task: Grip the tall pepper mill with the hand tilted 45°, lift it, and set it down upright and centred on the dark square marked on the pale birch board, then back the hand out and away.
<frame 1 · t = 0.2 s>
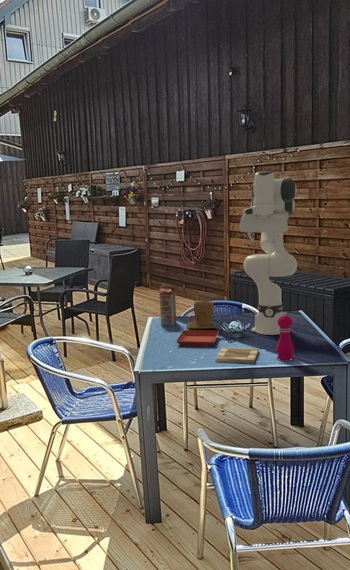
hand: (263, 242, 218), 48 cm above the table, tool pointing down, fingers open, 8 cm apart
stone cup: (201, 328, 268), on the table
birch board: (237, 356, 219), on the table
pepper mill: (285, 359, 214), on the table
plant saucer: (198, 342, 244), on the table
juice carton: (168, 324, 280), on the table
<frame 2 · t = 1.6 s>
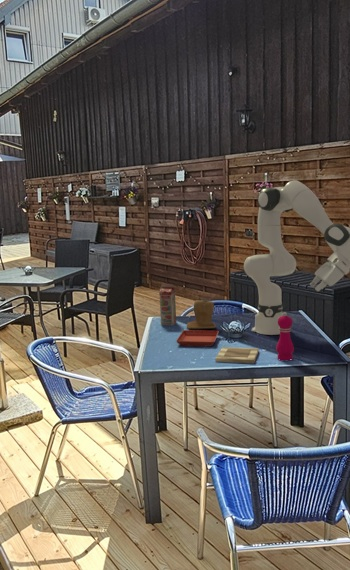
hand: (313, 288, 209), 30 cm above the table, tool tilted 45°, fingers open, 8 cm apart
nothing on the table moved.
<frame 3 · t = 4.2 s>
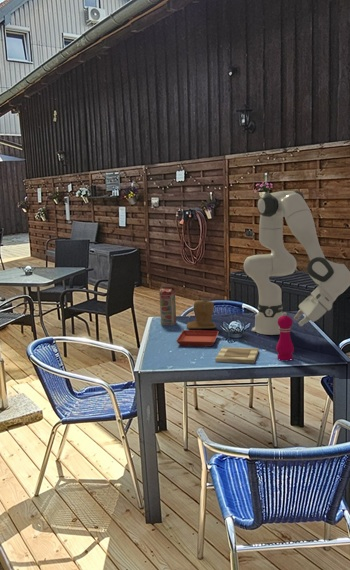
hand: (297, 322, 211), 16 cm above the table, tool tilted 45°, fingers open, 8 cm apart
nothing on the table moved.
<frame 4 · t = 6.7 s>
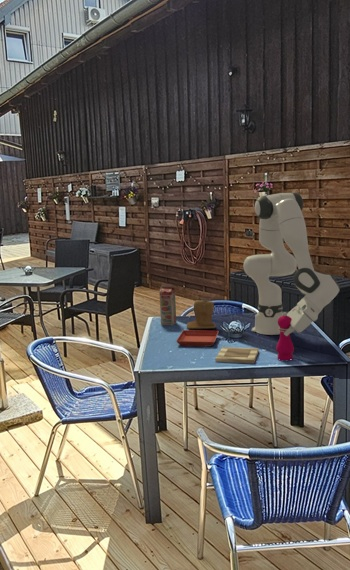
hand: (283, 332, 212), 11 cm above the table, tool tilted 45°, fingers closed on pepper mill, 5 cm apart
pepper mill: (285, 359, 214), on the table, touching gripper
everything else where it was.
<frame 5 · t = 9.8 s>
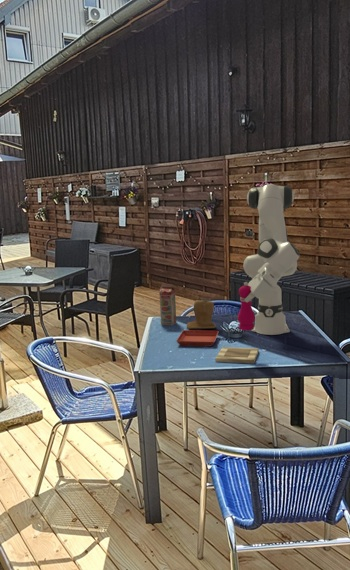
hand: (244, 299, 214), 25 cm above the table, tool tilted 45°, fingers closed on pepper mill, 5 cm apart
pepper mill: (246, 328, 216), point 12 cm above the table, touching gripper
everything else where it was.
when the fingers open (14 cm above the table, at t = 13.4 s): pepper mill stays where it is, resting on birch board.
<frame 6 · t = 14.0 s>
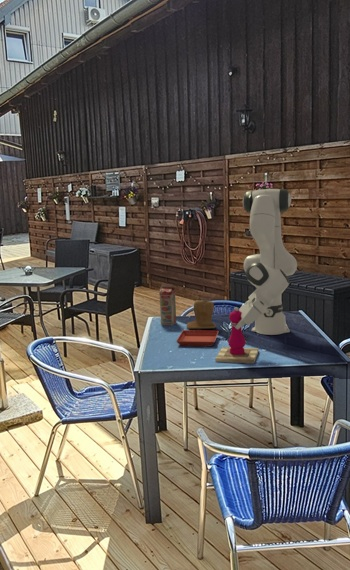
hand: (235, 325, 217), 14 cm above the table, tool tilted 45°, fingers open, 8 cm apart
pepper mill: (237, 353, 219), point 2 cm above the table, touching birch board
everything else where it was.
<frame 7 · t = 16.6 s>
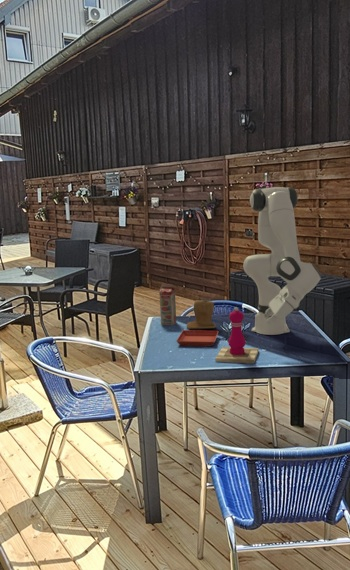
hand: (266, 319, 216), 16 cm above the table, tool tilted 45°, fingers open, 8 cm apart
nothing on the table moved.
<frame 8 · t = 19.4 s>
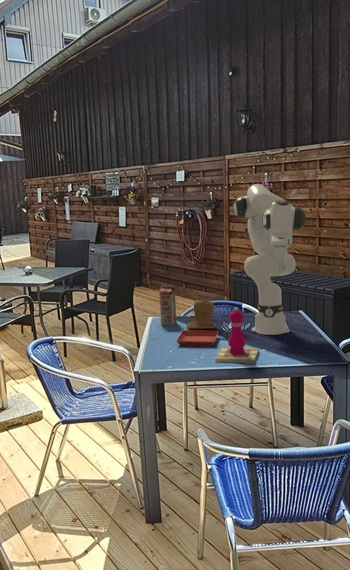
hand: (281, 272, 217), 35 cm above the table, tool pointing down, fingers open, 8 cm apart
nothing on the table moved.
at the end: pepper mill 0.1 cm off-centre on the birch board, point 1.5 cm above the birch board's base; pepper mill tilted 0°; the gripper is holding nothing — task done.
